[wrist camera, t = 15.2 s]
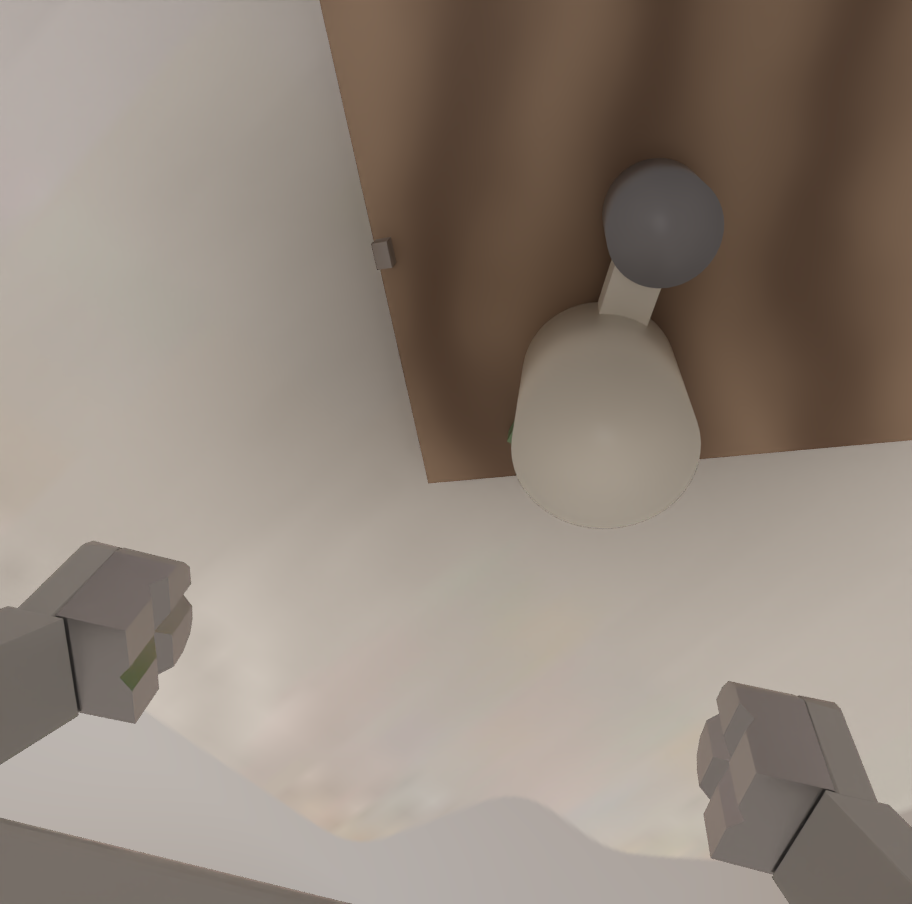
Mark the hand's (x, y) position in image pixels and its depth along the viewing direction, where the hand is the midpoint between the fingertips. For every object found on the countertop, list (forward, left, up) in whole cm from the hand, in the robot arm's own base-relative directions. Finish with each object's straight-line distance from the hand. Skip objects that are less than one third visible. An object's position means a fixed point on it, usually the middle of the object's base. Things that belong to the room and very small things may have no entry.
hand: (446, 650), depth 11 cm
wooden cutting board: (-5, -2, -22) cm, 22 cm away
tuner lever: (-4, +1, -20) cm, 20 cm away
